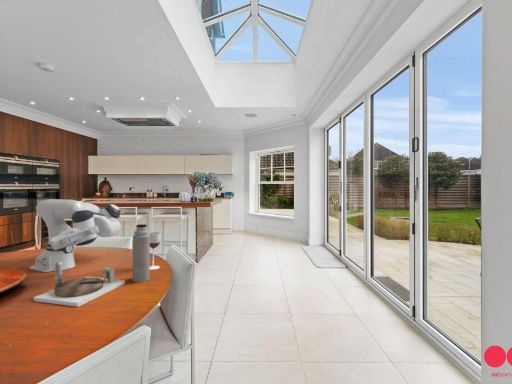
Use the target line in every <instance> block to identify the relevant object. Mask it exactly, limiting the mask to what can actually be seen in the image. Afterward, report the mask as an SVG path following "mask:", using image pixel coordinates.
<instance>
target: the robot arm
mask: <svg viewBox="0 0 512 384" xmlns="http://www.w3.org/2000/svg"><path fill="white" fill-rule="evenodd" d="M35 210H36V214H37V215H38V216H39V217H40V218H41V219H42V220H43V221H44V223H45V225H46V227H47V231H48V243H47V244H46V245H44V247H45V250H44V251H43V252H42V253H40V254H39V255H38V256H37V257H36V258H35V263H34V264H33V265H31V266H29V269H30V270H32V271H33V270H34V271H37V272H43V273H49V272H55V266H56V263H57V262H62V271H65V270H70V269H73V268H74V267H76V261H75V255H74V250H73V249H74V246H76V247H80V246H86V245H90V244H92V243H94V242H95V240H97V238H98V237H101V238H110V237H113V236H115V235H117V234H118V233H119V232H120V230H122V225H121V222H120V221H119V220H118V218H120V217H121V216H120V215H121V208H119V207H118V206H117V205H116V204H112V203H108V204H107V205H105V206H104V208H103V209H102V210H101V209H100V207H99V206H98V205H95V204H93V203H90V202H82V201H79V200H76V199H75V200H74V199H62V198H61V199H58V198H57V199H55V198H53V199H52V198H50V199H44V200H40V201H39V202H38V203H37V204H36V208H35ZM66 220H71V221H72V223H73V227H71V226H70V225H69V224H67V222H66Z"/></svg>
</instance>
